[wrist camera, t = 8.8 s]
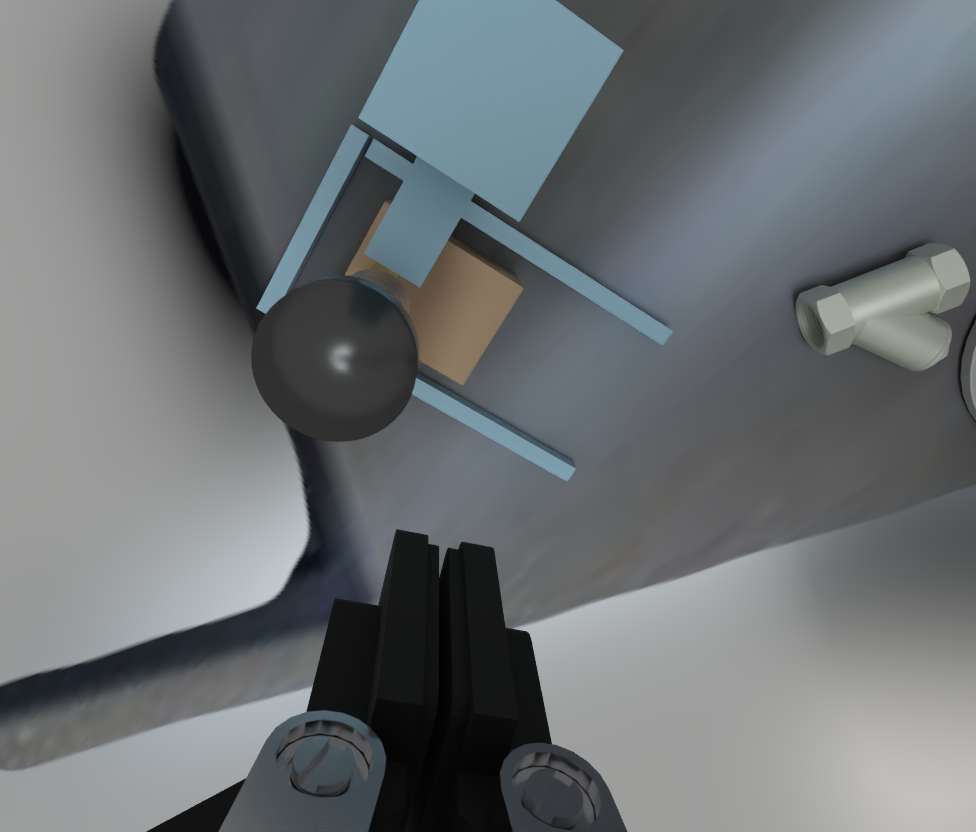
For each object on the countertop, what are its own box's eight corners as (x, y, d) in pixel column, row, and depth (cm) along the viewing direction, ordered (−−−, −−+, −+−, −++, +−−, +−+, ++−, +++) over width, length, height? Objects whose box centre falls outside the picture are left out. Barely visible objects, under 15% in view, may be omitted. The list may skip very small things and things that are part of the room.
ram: (449, 286, 28) (447, 337, 19) (394, 379, 29) (367, 468, 20) (350, 226, 27) (297, 249, 18) (297, 324, 28) (223, 391, 19)
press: (713, 260, 40) (1059, 371, 17) (564, 473, 44) (682, 794, 21) (397, 45, 35) (293, -194, 13) (263, 303, 39) (0, 475, 17)
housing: (515, 275, 40) (526, 291, 34) (462, 361, 41) (462, 392, 35) (393, 198, 38) (382, 201, 32) (342, 291, 39) (322, 311, 34)
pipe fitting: (934, 342, 42) (922, 238, 40) (980, 362, 39) (970, 250, 36) (809, 389, 43) (788, 290, 40) (843, 413, 40) (823, 307, 37)
